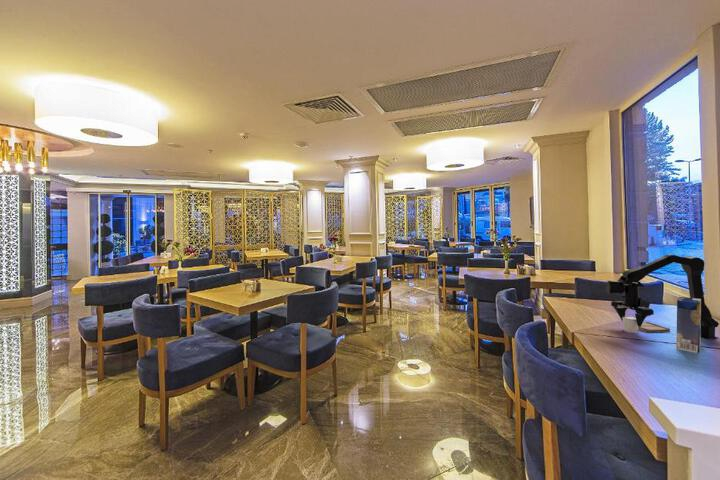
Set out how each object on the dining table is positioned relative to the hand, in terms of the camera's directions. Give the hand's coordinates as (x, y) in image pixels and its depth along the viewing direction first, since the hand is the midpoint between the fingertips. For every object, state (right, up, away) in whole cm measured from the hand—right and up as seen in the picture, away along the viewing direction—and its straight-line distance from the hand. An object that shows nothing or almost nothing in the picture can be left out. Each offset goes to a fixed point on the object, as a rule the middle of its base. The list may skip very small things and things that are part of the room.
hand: (631, 323), depth 160 cm
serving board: (+12, -4, +4) cm, 13 cm away
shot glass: (0, -4, 0) cm, 4 cm away
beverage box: (+6, -5, -23) cm, 24 cm away
